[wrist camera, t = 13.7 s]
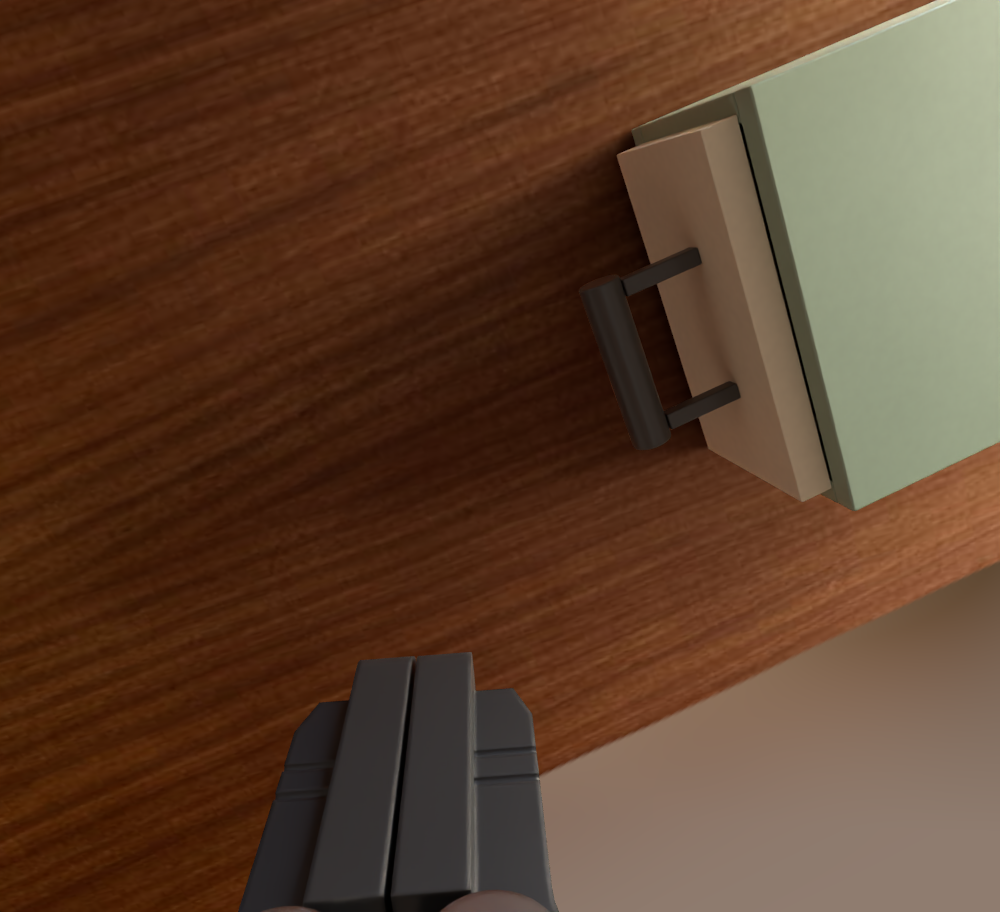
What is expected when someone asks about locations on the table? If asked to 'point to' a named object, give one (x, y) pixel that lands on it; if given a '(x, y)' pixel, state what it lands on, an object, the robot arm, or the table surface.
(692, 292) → the drawer
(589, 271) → the table surface
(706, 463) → the table surface
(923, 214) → the cabinet
